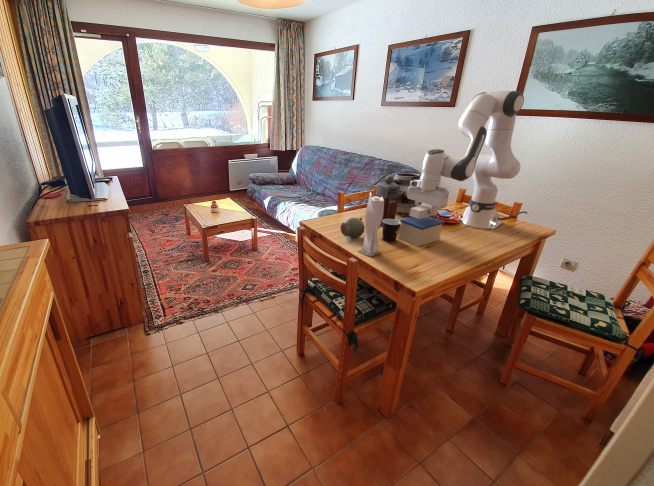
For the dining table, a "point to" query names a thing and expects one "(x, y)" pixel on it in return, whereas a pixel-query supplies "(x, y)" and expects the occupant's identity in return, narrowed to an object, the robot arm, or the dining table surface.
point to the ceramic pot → (405, 192)
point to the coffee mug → (390, 230)
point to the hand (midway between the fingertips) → (423, 211)
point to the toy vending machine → (388, 197)
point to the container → (420, 230)
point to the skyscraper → (372, 225)
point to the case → (422, 211)
